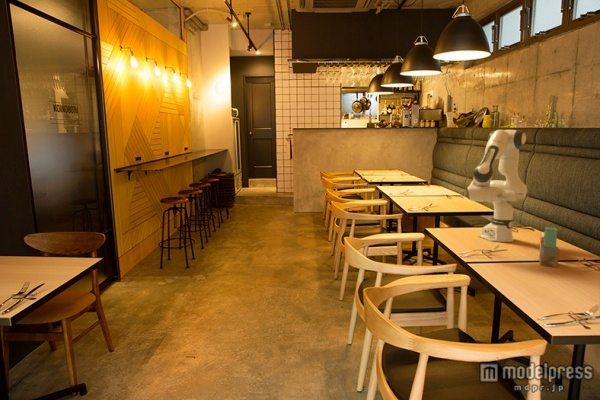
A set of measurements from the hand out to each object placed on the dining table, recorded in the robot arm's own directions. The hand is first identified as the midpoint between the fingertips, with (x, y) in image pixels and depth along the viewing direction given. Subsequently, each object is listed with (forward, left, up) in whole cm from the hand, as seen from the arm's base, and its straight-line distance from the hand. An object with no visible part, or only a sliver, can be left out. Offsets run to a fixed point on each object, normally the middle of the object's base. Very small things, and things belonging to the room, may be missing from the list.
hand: (524, 195), depth 235 cm
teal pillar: (+17, -1, -25) cm, 30 cm away
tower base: (+17, 0, -35) cm, 39 cm away
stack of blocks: (+4, +18, -35) cm, 40 cm away
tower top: (+17, 0, -30) cm, 35 cm away
